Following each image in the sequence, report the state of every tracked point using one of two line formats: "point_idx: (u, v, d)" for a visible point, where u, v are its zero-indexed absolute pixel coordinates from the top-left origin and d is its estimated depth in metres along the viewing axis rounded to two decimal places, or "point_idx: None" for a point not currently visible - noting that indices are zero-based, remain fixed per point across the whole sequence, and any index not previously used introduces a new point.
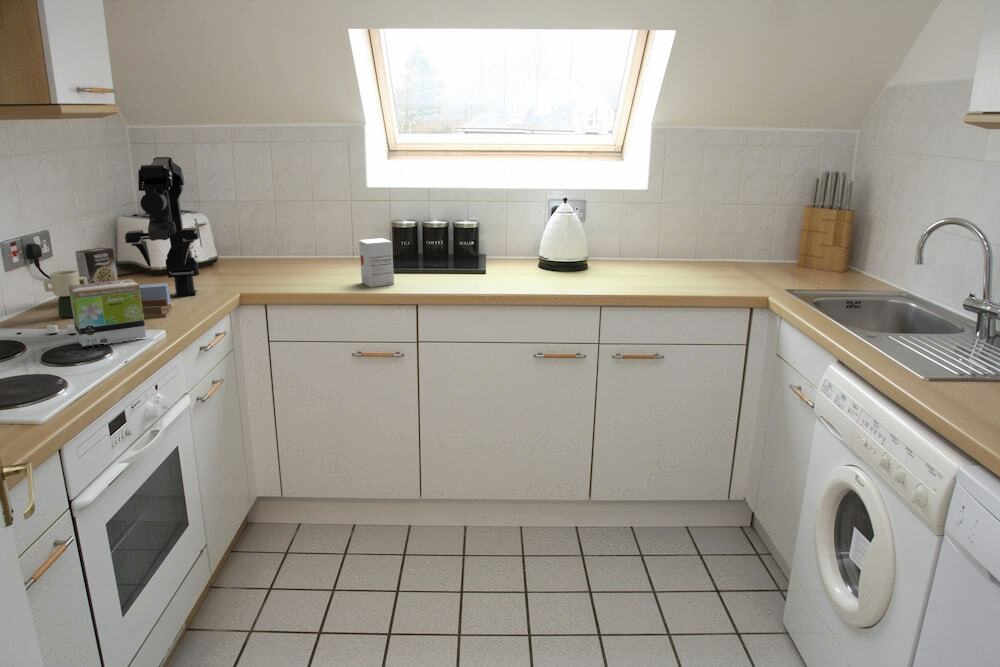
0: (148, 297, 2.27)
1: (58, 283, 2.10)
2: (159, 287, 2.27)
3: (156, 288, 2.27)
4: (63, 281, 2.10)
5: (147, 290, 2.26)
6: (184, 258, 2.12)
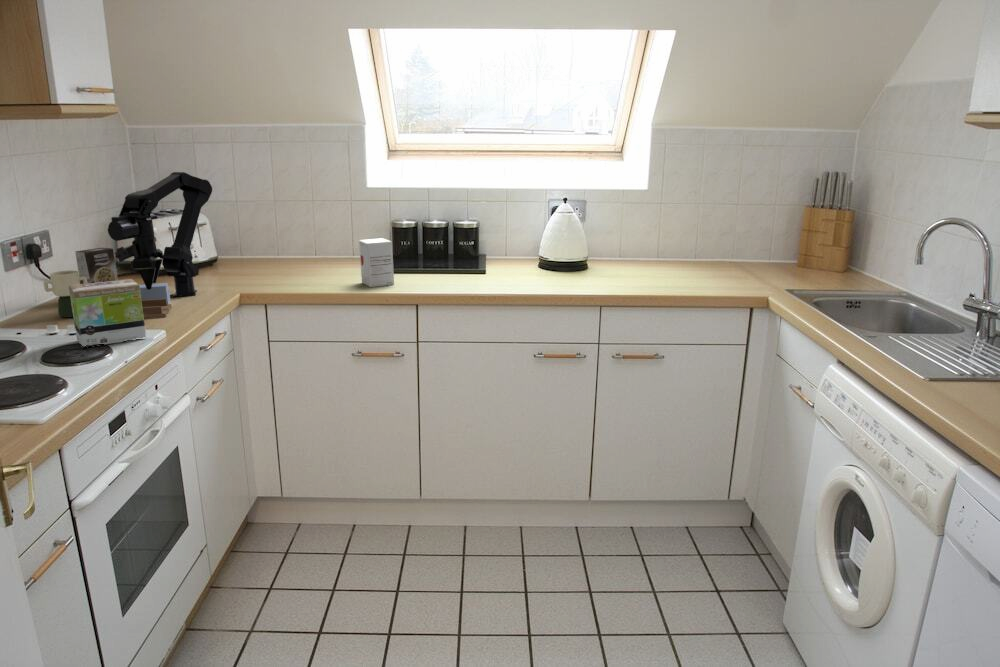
0: (148, 297, 2.27)
1: (58, 283, 2.10)
2: (159, 287, 2.27)
3: (156, 288, 2.27)
4: (63, 281, 2.10)
5: (147, 290, 2.26)
6: None
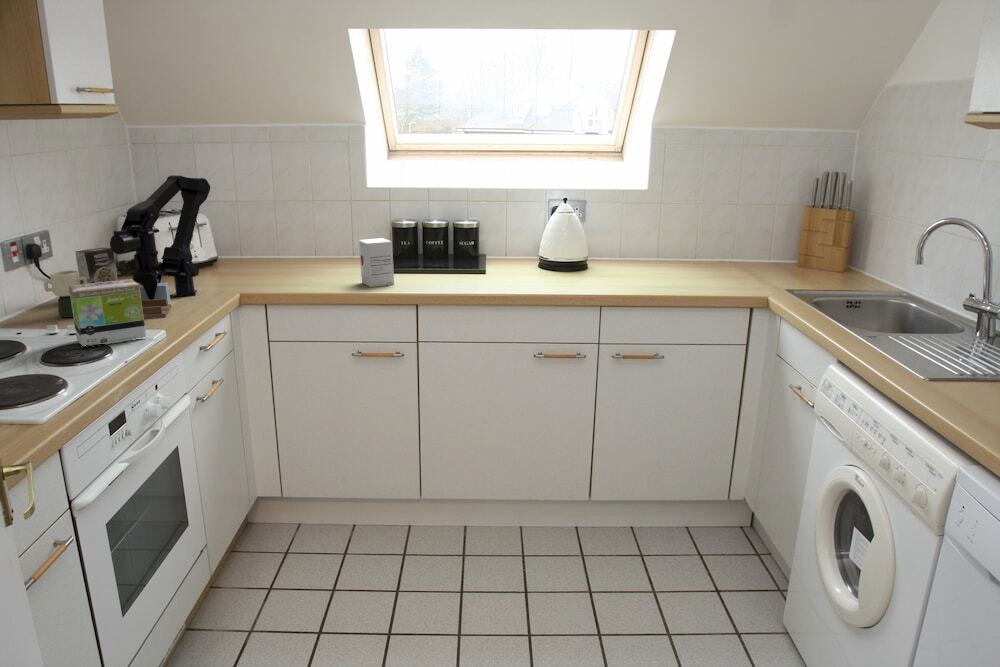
0: None
1: (58, 283, 2.10)
2: (159, 287, 2.27)
3: None
4: (63, 281, 2.10)
5: None
6: (147, 295, 2.26)
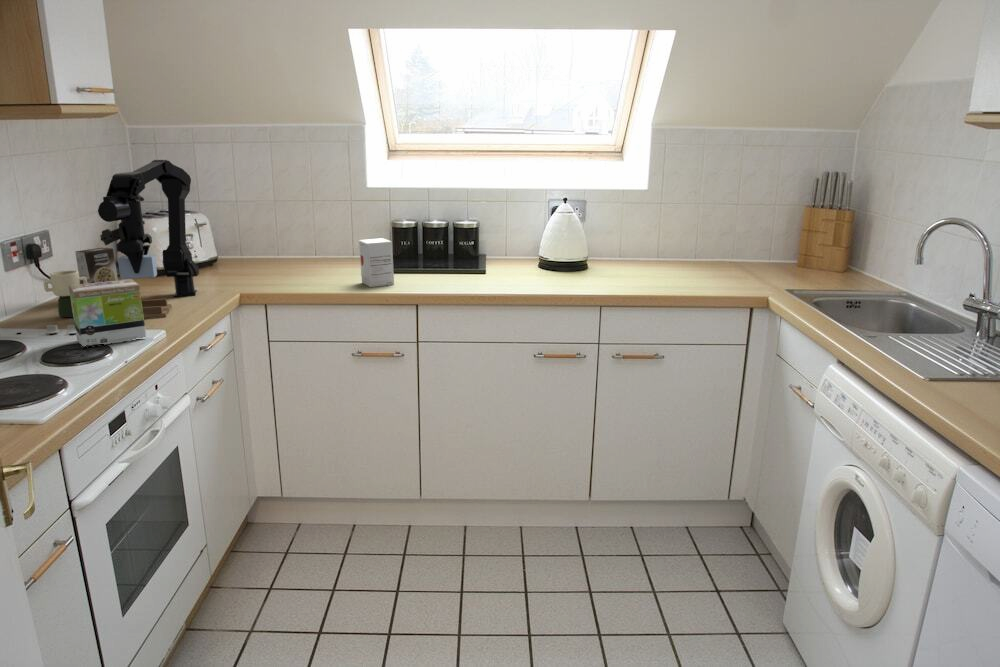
0: None
1: (58, 283, 2.10)
2: (144, 258, 2.15)
3: None
4: (63, 281, 2.10)
5: None
6: None
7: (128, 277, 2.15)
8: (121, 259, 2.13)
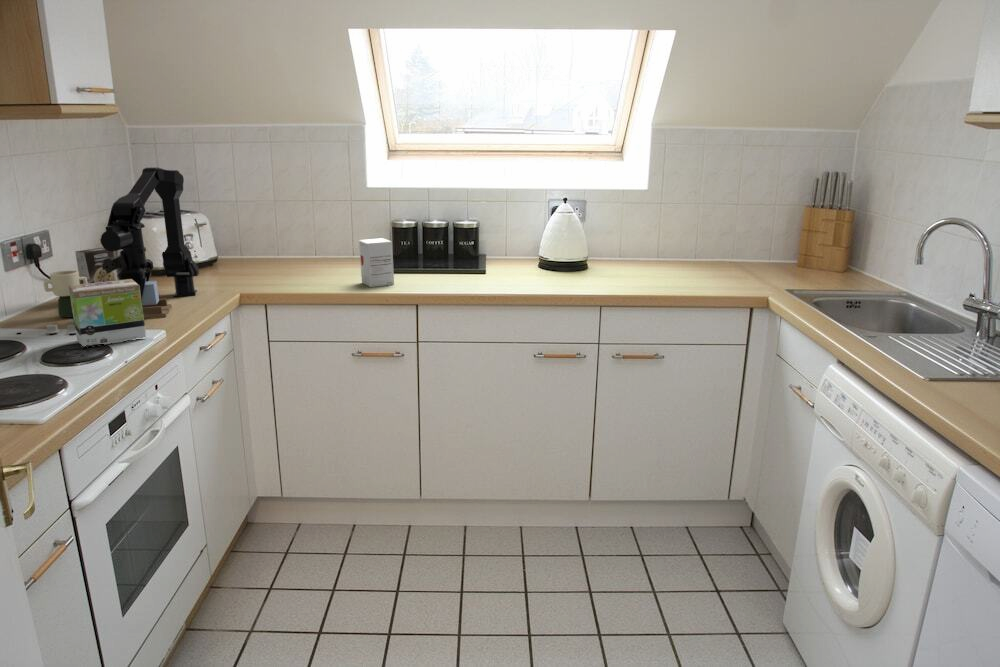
0: None
1: (58, 283, 2.10)
2: (147, 285, 2.14)
3: None
4: (63, 281, 2.10)
5: None
6: None
7: None
8: None
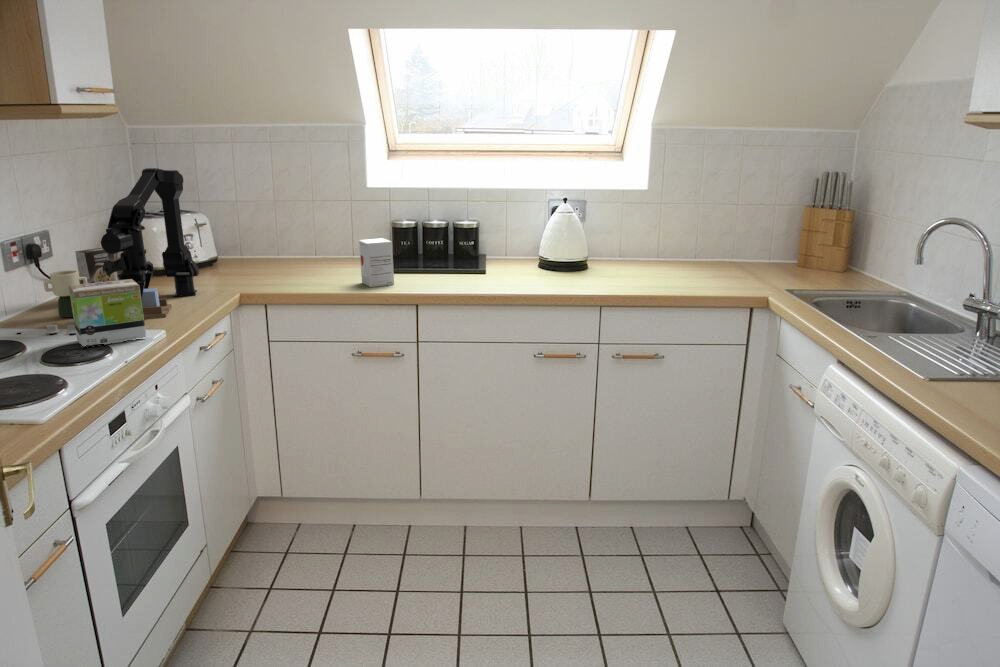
0: None
1: (58, 283, 2.10)
2: (148, 292, 2.14)
3: (144, 294, 2.14)
4: (63, 281, 2.10)
5: None
6: None
7: None
8: None
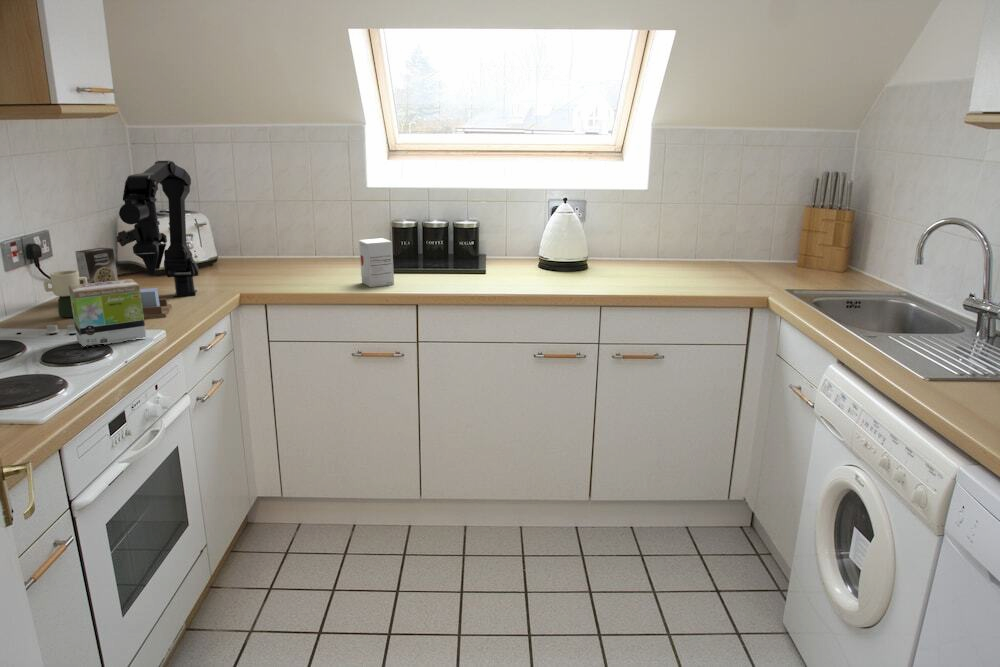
0: None
1: (58, 283, 2.10)
2: (148, 292, 2.14)
3: (144, 294, 2.14)
4: (63, 281, 2.10)
5: None
6: None
7: None
8: None
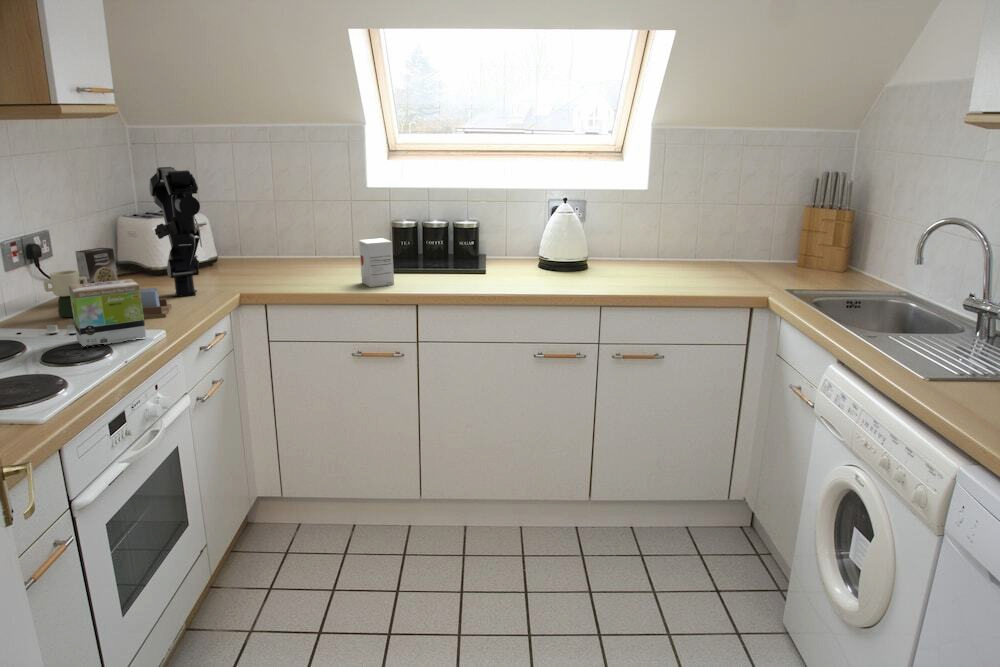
0: None
1: (58, 283, 2.10)
2: (148, 292, 2.14)
3: (144, 294, 2.14)
4: (63, 281, 2.10)
5: None
6: (184, 260, 2.24)
7: None
8: None
